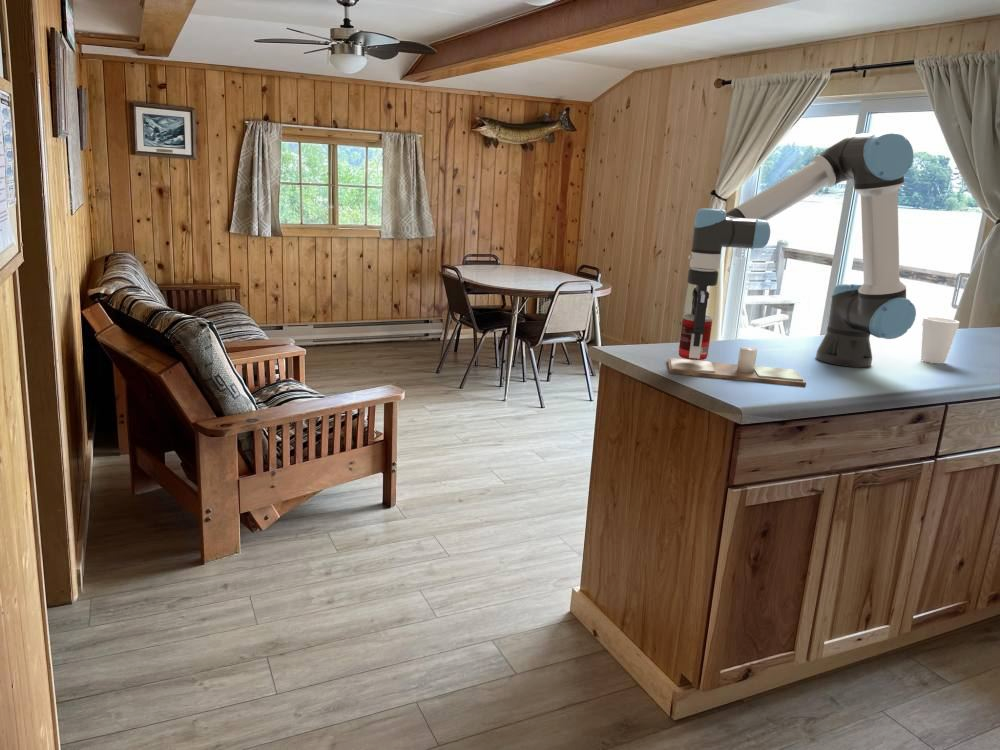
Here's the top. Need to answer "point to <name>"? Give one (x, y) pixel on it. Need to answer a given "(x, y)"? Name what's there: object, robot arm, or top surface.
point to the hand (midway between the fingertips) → (693, 354)
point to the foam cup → (937, 338)
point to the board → (734, 372)
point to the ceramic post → (747, 360)
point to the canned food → (686, 336)
